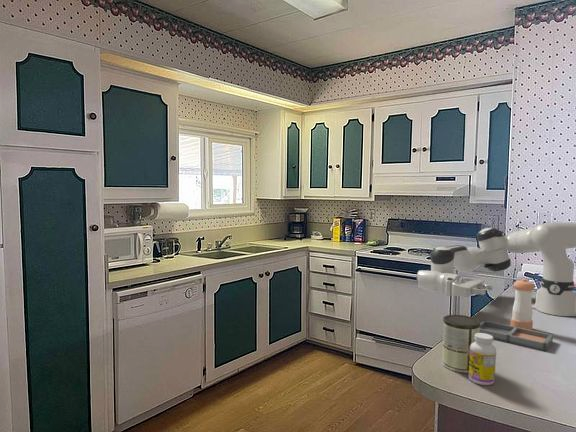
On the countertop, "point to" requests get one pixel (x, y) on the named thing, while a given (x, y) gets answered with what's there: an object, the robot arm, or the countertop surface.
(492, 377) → the supplement bottle
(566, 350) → the countertop surface
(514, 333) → the tray
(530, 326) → the salt shaker
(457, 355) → the coffee can
